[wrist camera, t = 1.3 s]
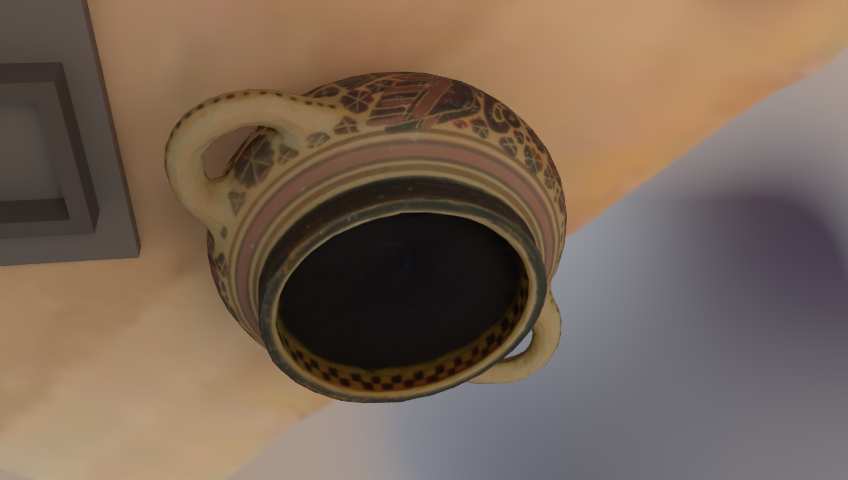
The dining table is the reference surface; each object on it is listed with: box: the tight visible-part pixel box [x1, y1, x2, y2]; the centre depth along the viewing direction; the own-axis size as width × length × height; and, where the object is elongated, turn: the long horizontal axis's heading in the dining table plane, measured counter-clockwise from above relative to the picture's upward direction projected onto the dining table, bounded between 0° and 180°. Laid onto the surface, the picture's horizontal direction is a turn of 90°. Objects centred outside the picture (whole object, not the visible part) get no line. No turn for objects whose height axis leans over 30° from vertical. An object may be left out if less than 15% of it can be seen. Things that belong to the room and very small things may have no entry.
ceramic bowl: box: [165, 72, 567, 403], centre depth 40 cm, size 24×18×15 cm
